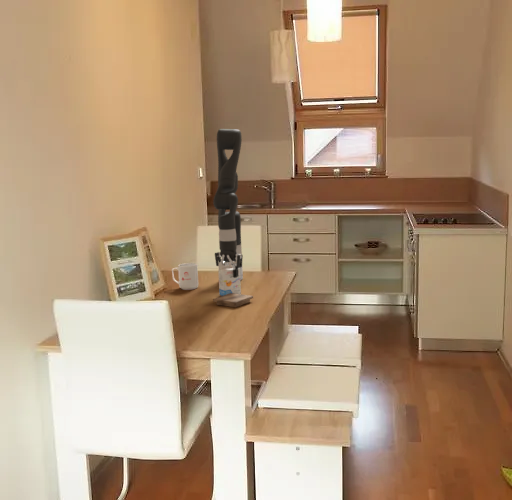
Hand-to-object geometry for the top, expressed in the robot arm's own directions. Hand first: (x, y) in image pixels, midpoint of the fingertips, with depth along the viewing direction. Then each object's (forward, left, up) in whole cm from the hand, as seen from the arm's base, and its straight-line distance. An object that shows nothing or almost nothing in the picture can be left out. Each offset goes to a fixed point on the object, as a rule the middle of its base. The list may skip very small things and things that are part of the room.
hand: (229, 276), depth 298 cm
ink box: (0, 0, -8) cm, 8 cm away
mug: (-28, +2, -9) cm, 29 cm away
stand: (+10, -11, -8) cm, 17 cm away
